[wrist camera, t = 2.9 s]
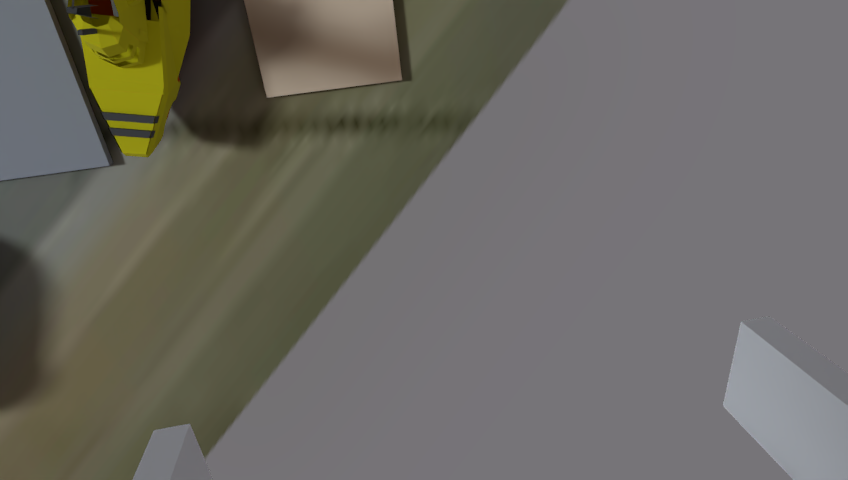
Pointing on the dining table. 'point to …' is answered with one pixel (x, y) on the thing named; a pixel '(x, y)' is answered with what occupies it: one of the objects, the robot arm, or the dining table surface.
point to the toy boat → (133, 65)
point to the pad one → (42, 98)
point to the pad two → (323, 44)
